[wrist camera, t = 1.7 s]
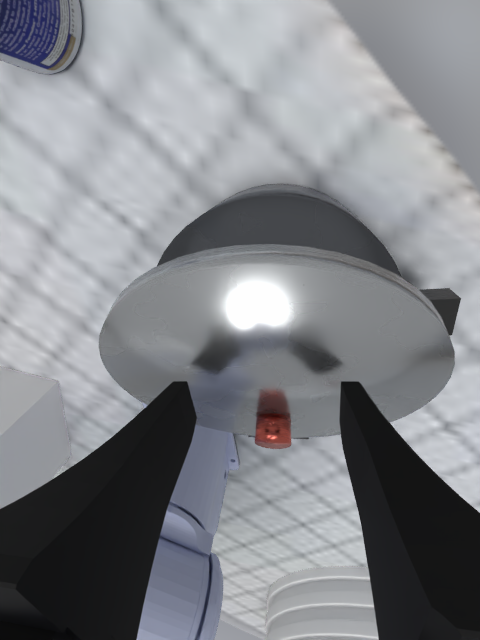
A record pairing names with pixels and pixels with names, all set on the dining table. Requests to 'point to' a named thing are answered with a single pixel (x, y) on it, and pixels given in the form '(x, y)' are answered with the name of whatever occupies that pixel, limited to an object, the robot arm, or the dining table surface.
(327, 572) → the plate stack
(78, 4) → the pill bottle
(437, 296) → the cooking pot
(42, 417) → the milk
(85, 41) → the dining table surface
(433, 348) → the pot lid
